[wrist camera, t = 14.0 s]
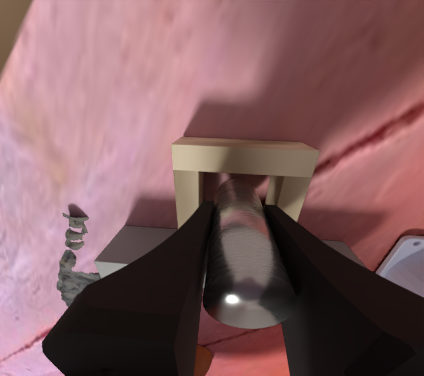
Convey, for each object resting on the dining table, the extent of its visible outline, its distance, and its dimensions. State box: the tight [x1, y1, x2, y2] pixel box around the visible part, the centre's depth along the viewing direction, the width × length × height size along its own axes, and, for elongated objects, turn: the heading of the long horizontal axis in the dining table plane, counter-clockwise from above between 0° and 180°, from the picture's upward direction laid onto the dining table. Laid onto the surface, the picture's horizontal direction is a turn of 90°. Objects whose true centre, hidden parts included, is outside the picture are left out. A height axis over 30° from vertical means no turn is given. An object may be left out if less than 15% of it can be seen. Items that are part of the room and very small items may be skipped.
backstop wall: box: [94, 225, 366, 288], centre depth 14 cm, size 20×2×4 cm, turn 88°
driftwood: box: [57, 213, 101, 307], centre depth 20 cm, size 21×7×2 cm, turn 150°
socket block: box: [171, 137, 320, 229], centre depth 12 cm, size 8×8×2 cm
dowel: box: [203, 178, 297, 329], centre depth 8 cm, size 3×3×7 cm
